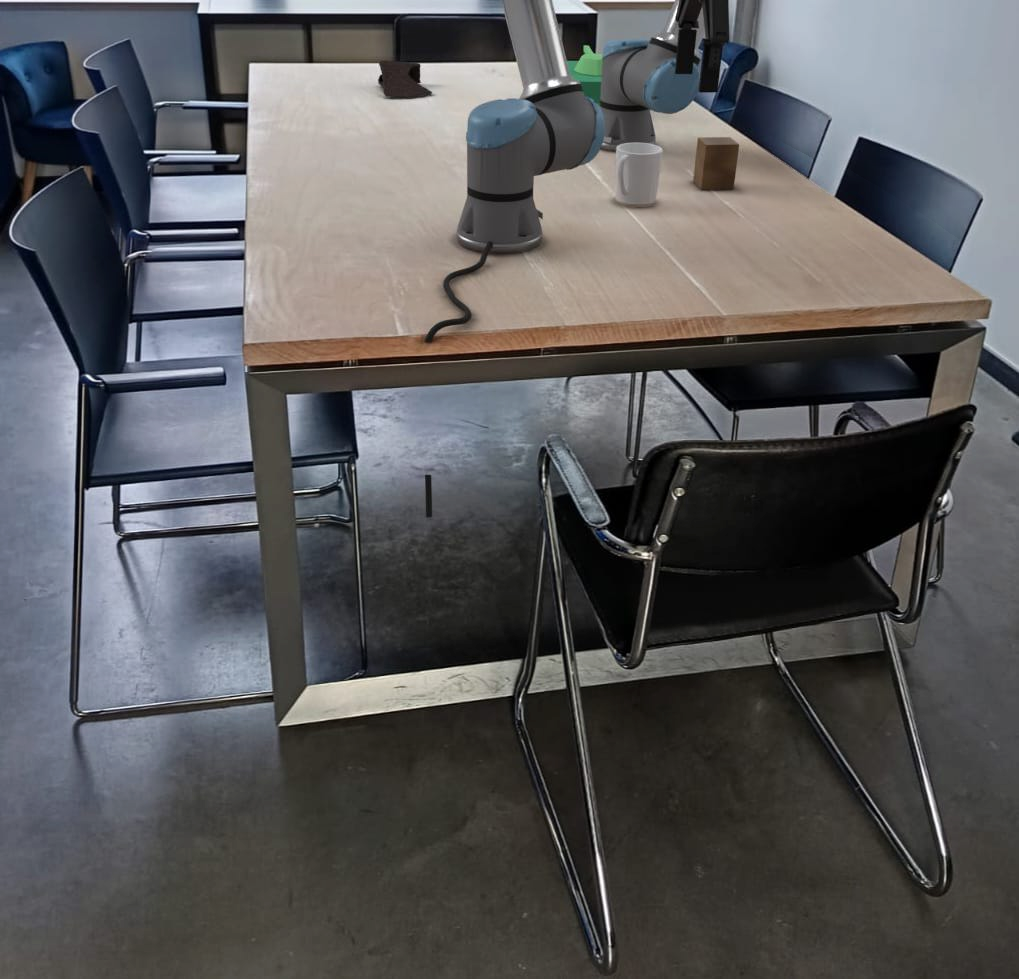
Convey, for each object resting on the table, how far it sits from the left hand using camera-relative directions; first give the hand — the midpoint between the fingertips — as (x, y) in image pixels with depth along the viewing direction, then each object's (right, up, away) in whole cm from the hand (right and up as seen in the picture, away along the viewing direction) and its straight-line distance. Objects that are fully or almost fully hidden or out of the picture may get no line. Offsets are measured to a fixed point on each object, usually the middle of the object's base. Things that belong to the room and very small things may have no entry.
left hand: (695, 82), depth 168 cm
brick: (+14, +1, +60) cm, 62 cm away
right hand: (-23, +35, +48) cm, 63 cm away
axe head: (-58, +47, +132) cm, 152 cm away
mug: (-4, -6, +49) cm, 49 cm away
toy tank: (-7, +42, +125) cm, 132 cm away
